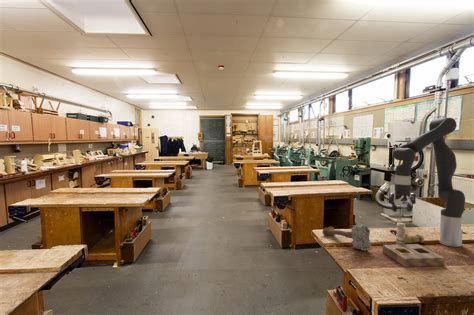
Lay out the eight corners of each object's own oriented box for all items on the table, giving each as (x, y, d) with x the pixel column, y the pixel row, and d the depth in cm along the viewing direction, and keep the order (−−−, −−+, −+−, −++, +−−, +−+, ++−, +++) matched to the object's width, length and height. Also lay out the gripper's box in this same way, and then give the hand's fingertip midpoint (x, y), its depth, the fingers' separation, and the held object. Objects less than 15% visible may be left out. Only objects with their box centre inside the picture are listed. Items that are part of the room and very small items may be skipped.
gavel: (383, 227, 162) (396, 226, 163) (383, 234, 162) (396, 233, 163) (409, 236, 141) (424, 236, 143) (409, 244, 141) (424, 243, 142)
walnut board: (417, 251, 132) (417, 243, 132) (443, 265, 116) (444, 257, 116) (382, 252, 131) (383, 244, 130) (404, 266, 115) (405, 258, 115)
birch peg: (401, 245, 139) (401, 222, 138) (406, 249, 134) (407, 224, 134) (394, 246, 138) (394, 222, 138) (399, 249, 134) (400, 225, 134)
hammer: (334, 237, 159) (377, 247, 133) (323, 243, 155) (366, 255, 128) (328, 216, 159) (370, 222, 132) (318, 221, 155) (359, 229, 128)
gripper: (409, 182, 139) (408, 209, 139) (386, 182, 138) (385, 209, 139) (420, 184, 131) (418, 213, 132) (395, 184, 130) (394, 213, 131)
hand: (401, 211), depth 135 cm, fingers open, 8 cm apart
